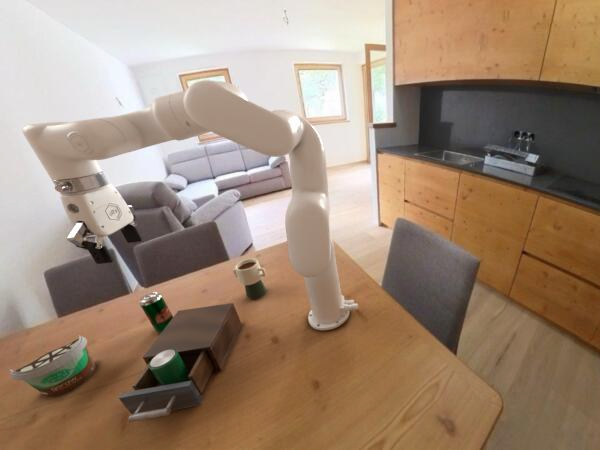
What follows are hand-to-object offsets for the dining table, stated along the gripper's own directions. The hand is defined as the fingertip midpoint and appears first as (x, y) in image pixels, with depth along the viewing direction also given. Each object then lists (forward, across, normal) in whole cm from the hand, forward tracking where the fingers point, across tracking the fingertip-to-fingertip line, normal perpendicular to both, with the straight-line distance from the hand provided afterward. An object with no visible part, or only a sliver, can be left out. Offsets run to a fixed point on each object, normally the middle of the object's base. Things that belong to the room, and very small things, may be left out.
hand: (121, 251), depth 67 cm
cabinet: (+31, -5, -11) cm, 33 cm away
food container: (+31, -10, +18) cm, 37 cm away
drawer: (+30, -17, -11) cm, 36 cm away
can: (+29, -17, -11) cm, 35 cm away
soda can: (+31, +7, +5) cm, 32 cm away
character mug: (+31, +17, -19) cm, 40 cm away
